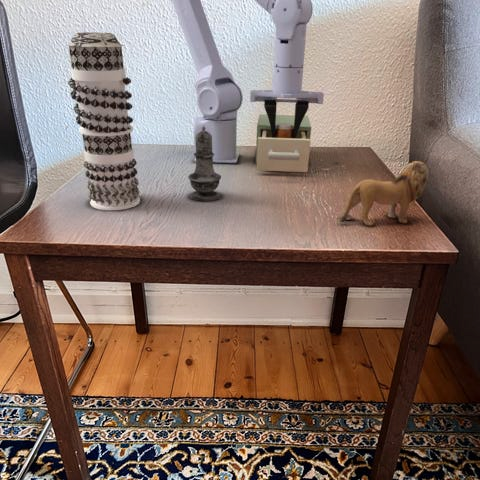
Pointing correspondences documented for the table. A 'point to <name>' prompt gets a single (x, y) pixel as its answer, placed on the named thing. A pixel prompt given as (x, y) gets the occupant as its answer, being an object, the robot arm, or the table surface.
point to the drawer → (283, 152)
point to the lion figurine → (389, 192)
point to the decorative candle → (104, 119)
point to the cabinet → (265, 124)
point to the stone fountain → (204, 169)
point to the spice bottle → (284, 130)
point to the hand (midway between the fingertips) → (283, 140)
